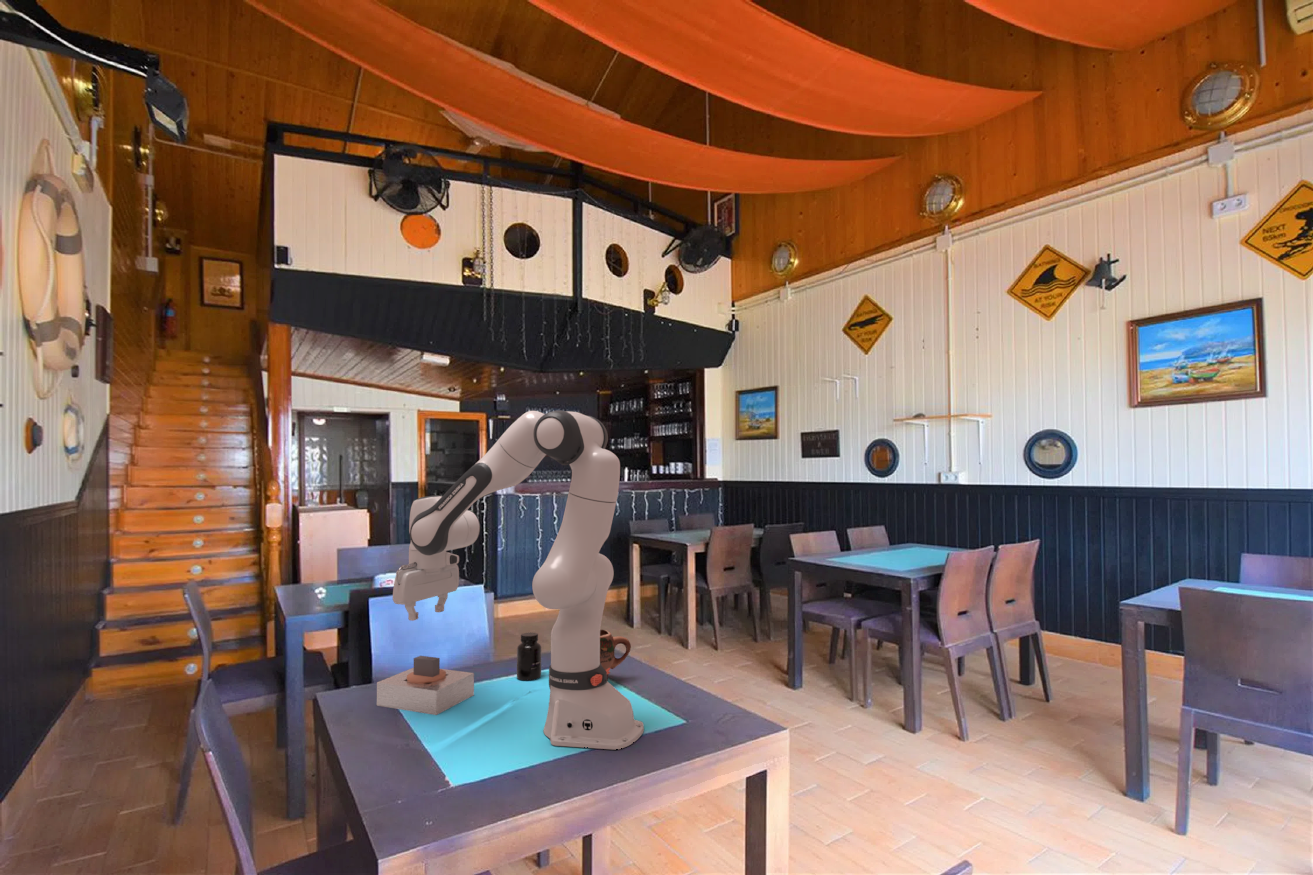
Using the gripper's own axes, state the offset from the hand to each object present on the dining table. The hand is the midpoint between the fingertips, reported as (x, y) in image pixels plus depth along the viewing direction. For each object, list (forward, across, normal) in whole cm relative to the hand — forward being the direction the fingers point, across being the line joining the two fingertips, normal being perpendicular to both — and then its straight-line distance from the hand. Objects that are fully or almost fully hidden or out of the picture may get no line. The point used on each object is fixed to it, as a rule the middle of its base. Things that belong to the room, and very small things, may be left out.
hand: (426, 615), depth 160 cm
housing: (+22, 0, 0) cm, 22 cm away
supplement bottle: (+22, +28, -12) cm, 38 cm away
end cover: (+21, 0, 0) cm, 21 cm away
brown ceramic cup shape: (+22, +30, -32) cm, 49 cm away
